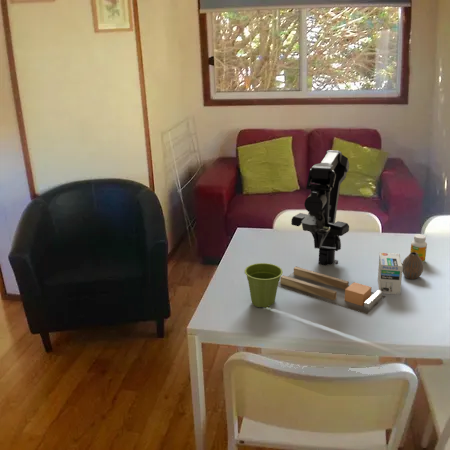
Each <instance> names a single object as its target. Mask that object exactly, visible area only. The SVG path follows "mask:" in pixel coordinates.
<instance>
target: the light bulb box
mask: <svg viewBox="0 0 450 450" xmlns="http://www.w3.org/2000/svg"><path fill="white" fill-rule="evenodd" d="M378 254H379V258H378V269H377V270H378V272H377V285H378V290H380V291H382V294H385V295H386V294H388V295H401V288H402V287H401V286H402V278H403V277H402V276H403V272H402V270H403V265H402V263H403V262H402V259H401V255H400V253H396V252H395V253H392V252H379V253H378Z"/></svg>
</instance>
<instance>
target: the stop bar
mask: <svg viewBox="0 0 450 450" xmlns="http://www.w3.org/2000/svg"><path fill="white" fill-rule="evenodd" d="M373 293H374V294H373V295H372V296H371V297H370V298H369V299H367V300H366V301H365V302H364V310H366V311H369V310H370V309H371V308H372V307H373V306H374V305H375V304H376V303H377V302H378V301H379V300H380V299H381V298H382V295H383V293H382V291H380V290H379V289H377V290H376V291H375V292H373Z"/></svg>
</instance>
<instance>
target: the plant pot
mask: <svg viewBox="0 0 450 450" xmlns="http://www.w3.org/2000/svg"><path fill="white" fill-rule="evenodd" d="M244 274H245V276H246V278H247V279H246V280H247V282H248V287H249V293H250V300H251V304H252V305H253V306H255V307H257V308H265V309H267V308H270V307H271V305H273V304H275V301H276V297H277V291H278V287H279V286H278V283H279V282H280V278H281V276H283V269H282V268H281V267H280V266H278V265H276V264H273V263H268V262H260V263H253V264H249V265H248V266H246V267H245V269H244Z"/></svg>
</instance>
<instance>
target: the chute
mask: <svg viewBox="0 0 450 450" xmlns="http://www.w3.org/2000/svg"><path fill="white" fill-rule="evenodd" d="M349 286H350V285H349V280H345V279H341V278H337V277H334V276H331V275H328V274H323V273H321V272H316V271H312V270H309V269H306V268H303V267H299V266H295V267H294V268H293V272H292V273H290V274H288V275H287V276H286V275H283V274H282V275H281V276H280V280H279V283H278V287H280V288H282V289H285V290H289V291H292V292H295V293H299V294H301V295H304V296H308V297H310V298H314V299H317V300H321V301H324V302H327V303H330V304H333V305H336V306H339V307H343V308H346V309H349V310H352V311H354V312H358V313H362V314H364V315H368V314H369V313H370V312H372V310H374V309H375V307H377V306H378V304H380V302H382V301H383V300H384V299H385V298H386V296H385V295H383V294H382V298H381V299H380V300H379V301H378V302H377V303H376V304H375V305H374V306H373V307H372V308H371V309H370V310H369V311H366V310H364V305H363V306H360V305H357V304H354V303H351V302H348V301H345V289H346V288H347V287H349ZM374 293H375V292H372V291H371V296H372V295H373V294H374Z"/></svg>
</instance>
